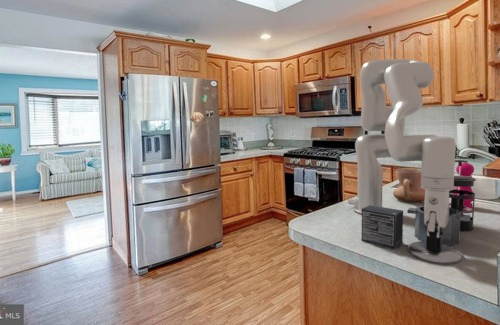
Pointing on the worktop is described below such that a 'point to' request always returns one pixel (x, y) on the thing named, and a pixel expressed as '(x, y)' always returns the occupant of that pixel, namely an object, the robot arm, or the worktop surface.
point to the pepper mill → (465, 171)
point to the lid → (435, 253)
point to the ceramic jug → (409, 185)
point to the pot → (449, 232)
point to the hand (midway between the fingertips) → (434, 247)
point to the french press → (458, 199)
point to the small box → (382, 226)
